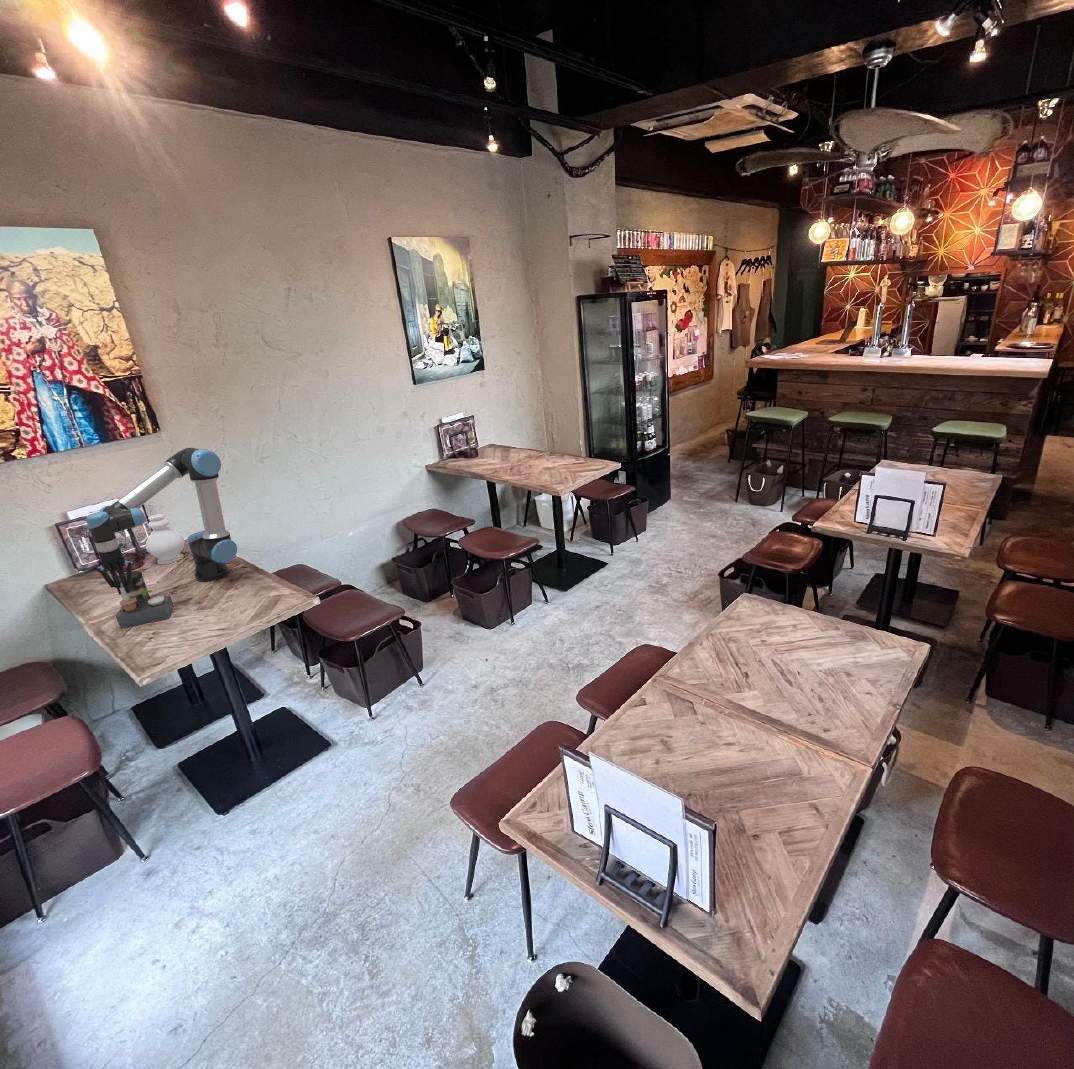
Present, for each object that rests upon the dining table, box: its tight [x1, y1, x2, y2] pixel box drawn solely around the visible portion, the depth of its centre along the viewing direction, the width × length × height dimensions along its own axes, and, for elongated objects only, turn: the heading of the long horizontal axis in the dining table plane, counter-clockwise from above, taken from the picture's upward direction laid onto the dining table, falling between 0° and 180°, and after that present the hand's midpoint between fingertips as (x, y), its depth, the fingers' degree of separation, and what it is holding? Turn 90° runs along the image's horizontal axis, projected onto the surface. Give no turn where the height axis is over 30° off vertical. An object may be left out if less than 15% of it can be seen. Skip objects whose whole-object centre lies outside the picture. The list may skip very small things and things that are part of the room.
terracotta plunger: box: [119, 597, 137, 611], centre depth 248 cm, size 6×6×7 cm
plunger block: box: [115, 594, 175, 629], centre depth 250 cm, size 18×12×6 cm, turn 111°
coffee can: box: [118, 570, 152, 601], centre depth 263 cm, size 10×10×14 cm
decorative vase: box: [145, 513, 186, 565], centre depth 309 cm, size 18×18×25 cm
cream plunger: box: [148, 595, 165, 606], centre depth 251 cm, size 6×6×7 cm
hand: (127, 600), depth 246 cm, fingers closed
